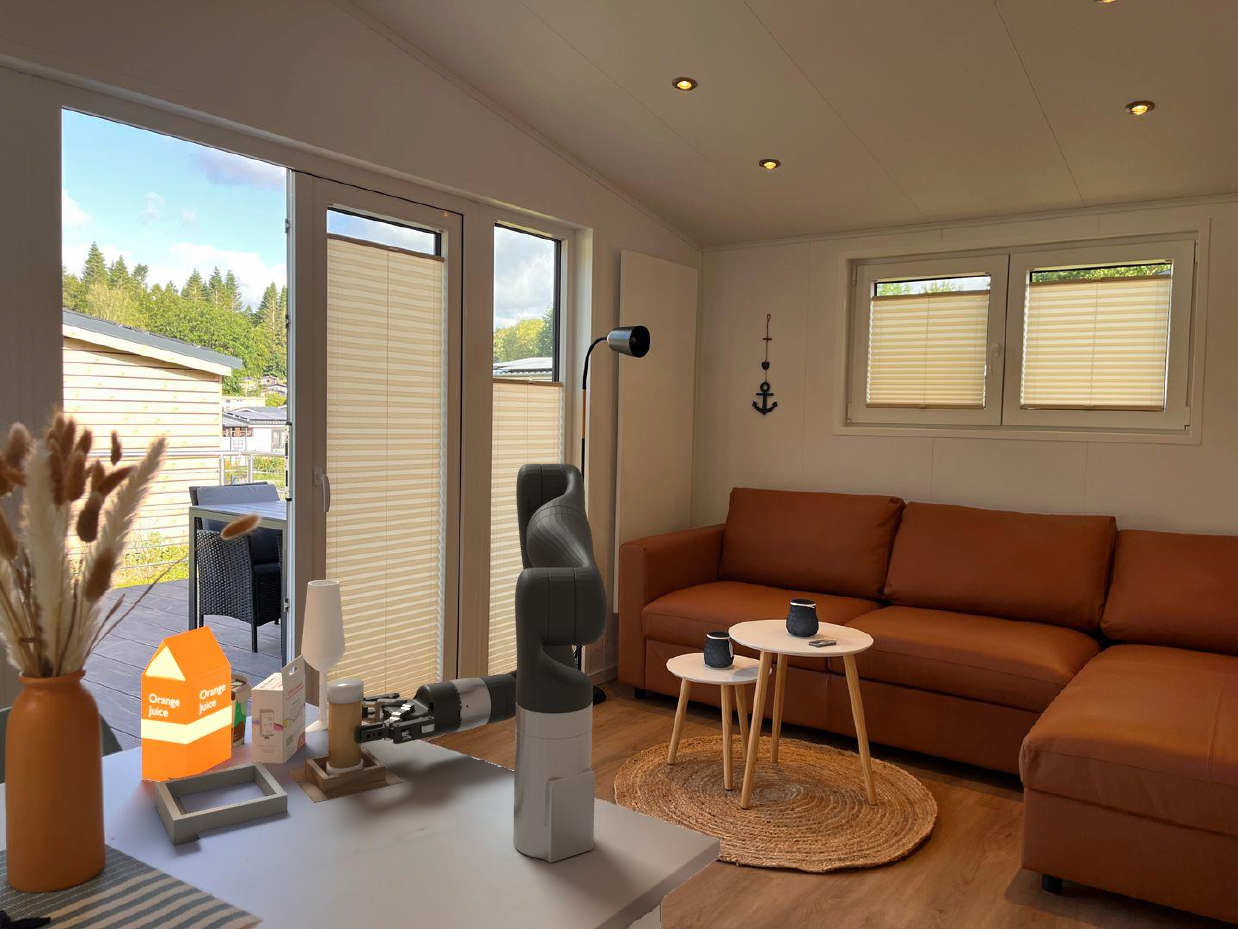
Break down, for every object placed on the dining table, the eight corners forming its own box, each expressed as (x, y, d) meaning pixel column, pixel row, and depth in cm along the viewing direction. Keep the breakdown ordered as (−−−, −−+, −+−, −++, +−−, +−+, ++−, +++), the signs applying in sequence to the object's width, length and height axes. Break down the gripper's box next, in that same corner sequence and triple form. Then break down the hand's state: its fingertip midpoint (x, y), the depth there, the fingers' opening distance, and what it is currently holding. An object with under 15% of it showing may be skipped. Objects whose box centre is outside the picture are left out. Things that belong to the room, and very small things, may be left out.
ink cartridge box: (274, 747, 136) (274, 652, 135) (306, 748, 136) (306, 653, 135) (249, 769, 128) (249, 668, 127) (284, 770, 128) (284, 669, 127)
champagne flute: (293, 737, 140) (294, 586, 139) (310, 723, 147) (311, 578, 146) (336, 739, 140) (336, 587, 139) (350, 724, 147) (351, 579, 146)
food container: (271, 742, 138) (271, 678, 138) (239, 756, 132) (239, 689, 132) (212, 729, 143) (212, 668, 143) (179, 742, 138) (179, 678, 137)
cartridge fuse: (367, 778, 123) (368, 685, 122) (333, 786, 120) (333, 691, 119) (355, 767, 127) (356, 676, 126) (321, 774, 124) (322, 682, 123)
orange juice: (232, 763, 130) (232, 627, 129) (187, 787, 121) (186, 641, 120) (187, 757, 132) (186, 622, 131) (140, 780, 123) (139, 636, 122)
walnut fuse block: (403, 789, 122) (403, 767, 122) (314, 810, 115) (314, 787, 115) (371, 760, 132) (371, 740, 132) (287, 778, 125) (287, 757, 125)
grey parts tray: (287, 818, 113) (287, 795, 112) (173, 845, 105) (173, 820, 105) (260, 782, 123) (260, 761, 123) (155, 805, 116) (155, 782, 115)
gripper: (433, 669, 138) (328, 686, 129) (475, 694, 127) (362, 714, 117) (432, 717, 138) (327, 737, 129) (474, 746, 127) (362, 770, 117)
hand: (344, 726), depth 123 cm, fingers open, 8 cm apart
